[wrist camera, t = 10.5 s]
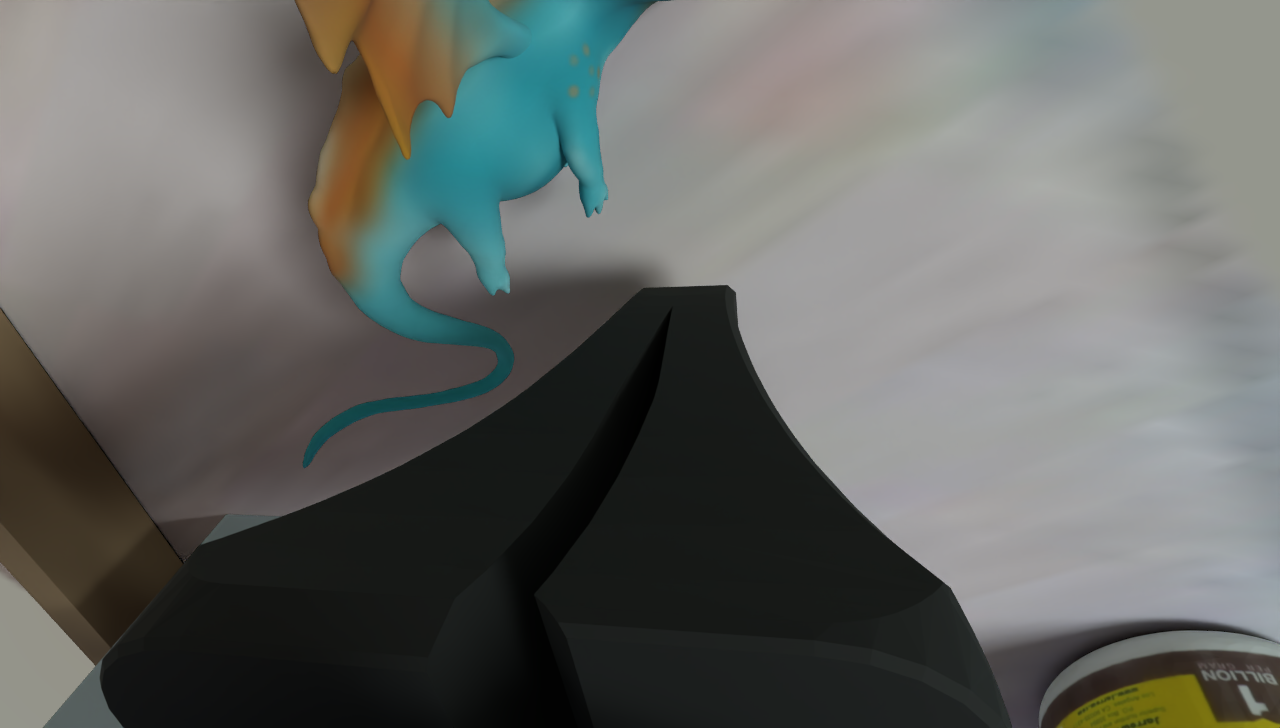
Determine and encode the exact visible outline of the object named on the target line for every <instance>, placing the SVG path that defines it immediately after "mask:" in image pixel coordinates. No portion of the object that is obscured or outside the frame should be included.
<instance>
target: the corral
mask: <svg viewBox="0 0 1280 728" xmlns="http://www.w3.org/2000/svg"><path fill="white" fill-rule="evenodd" d="M0 562H1V563H2V564H3V565H4V566H5V568H6V569H7V570H8V571H9V572H10V573H11V574H12V575H13V576H14V577H15V578H16V580H17V581H18V582H19V583H20V584H21V585H22V586H23V587H24V588H25V589H26V590H27V592H28V593H29V594H30V595H31V596H32V597H33V598H34V599H35V600H36V601H37V602H38V604H39V605H40V606H41V607H42V608H43V609H44V610H45V611H46V612H47V613H48V614H49V615H50V617H51V618H52V619H53V620H54V621H55V622H56V623H57V624H58V625H59V626H60V627H61V629H62V630H63V631H64V632H65V633H66V634H67V635H68V636H69V637H70V638H71V639H72V641H73V642H74V643H75V644H76V645H77V646H78V647H79V648H80V649H81V650H82V651H83V652H84V654H85V655H86V656H87V657H88V658H89V659H90V660H91V661H92V662H93V663H94V665H95V666H96V665H97V664H98V663H99V662H100V661H101V659H102V658H103V657H104V656H105V655H106V654H107V652H108V651H109V650H110V649H111V648H112V647H113V645H114V644H115V643H116V642H117V641H118V640H119V639H120V637H121V636H122V635H123V634H124V633H125V632H126V630H127V629H128V628H129V627H130V626H131V625H132V623H133V622H134V621H135V620H136V619H137V618H138V616H139V615H140V614H141V613H142V612H143V611H144V609H145V608H146V607H147V606H148V605H149V604H150V603H151V601H152V600H153V599H154V598H155V597H156V596H157V594H158V593H159V592H160V591H161V590H162V589H163V587H164V586H165V585H166V584H167V583H168V582H169V580H170V579H171V578H172V577H173V576H174V575H175V573H176V572H177V571H178V570H179V569H180V567H181V566H182V565H183V564H182V562H181V561H180V559H179V558H178V557H177V555H176V554H175V552H174V551H173V550H172V548H171V547H170V545H169V544H168V543H167V541H166V540H165V538H164V537H163V536H162V534H161V533H160V531H159V530H158V529H157V527H156V526H155V524H154V523H153V522H152V520H151V519H150V517H149V516H148V515H147V513H146V512H145V510H144V509H143V508H142V506H141V505H140V503H139V502H138V501H137V499H136V498H135V496H134V495H133V494H132V492H131V491H130V489H129V488H128V487H127V485H126V484H125V482H124V481H123V480H122V478H121V477H120V475H119V474H118V473H117V471H116V470H115V468H114V467H113V466H112V464H111V463H110V461H109V460H108V459H107V457H106V456H105V454H104V453H103V452H102V450H101V449H100V447H99V446H98V445H97V443H96V442H95V440H94V439H93V438H92V436H91V435H90V433H89V432H88V431H87V429H86V428H85V426H84V425H83V424H82V422H81V421H80V419H79V418H78V417H77V415H76V414H75V412H74V411H73V410H72V408H71V407H70V405H69V404H68V403H67V401H66V400H65V398H64V397H63V396H62V394H61V393H60V391H59V390H58V389H57V387H56V386H55V384H54V383H53V382H52V380H51V379H50V377H49V376H48V375H47V373H46V372H45V371H44V369H43V368H42V366H41V365H40V364H39V362H38V361H37V359H36V358H35V357H34V355H33V354H32V352H31V351H30V350H29V348H28V347H27V345H26V344H25V343H24V341H23V340H22V338H21V337H20V336H19V334H18V333H17V331H16V330H15V329H14V327H13V326H12V324H11V323H10V322H9V320H8V319H7V317H6V316H5V315H4V313H3V312H2V310H1V309H0Z"/></svg>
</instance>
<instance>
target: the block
mask: <svg viewBox="0 0 1280 728" xmlns="http://www.w3.org/2000/svg"><path fill="white" fill-rule="evenodd" d="M279 517H280V516H256V515H231V514H226V515H225V517H224V518H223V519H222V520H221V521H220V522H219V524H218V525H217V526H216V527H215V528H214V529H213V530H212V532H211V533H210V534H209V535H208V536H207V537H206V539H205V540H204V541H203V542H202V543H201V544H204V543H207V542H210V541H213V540H217V539H220V538H223V537H226V536H228V535H231V534H234V533H237V532H240V531H242V530H245V529H248V528H251V527H254V526H256V525H259V524H262V523H265V522H268V521H270V520H273V519H276V518H279ZM201 544H200V545H201ZM151 602H152V601H151ZM145 609H146V608H145ZM145 609H144V610H145ZM139 616H140V615H139ZM139 616H138V617H139ZM133 623H134V622H133ZM133 623H132V624H133ZM127 630H128V629H127ZM127 630H126V631H127ZM122 636H123V635H122ZM122 636H121V637H122ZM121 637H120V638H121ZM116 643H117V642H116ZM116 643H115V644H116ZM115 644H114V645H115ZM114 645H113V646H114ZM110 650H111V649H110ZM110 650H109V651H110ZM109 651H108V652H109ZM108 652H107V653H108ZM104 657H105V656H104ZM104 657H103V658H104ZM103 658H102V659H103ZM102 659H101V661H100V662H99V663H98V664H97V665H96V666H95V668H94V669H93V670H92V671H91V672H90V673H89V675H88V676H87V677H86V678H85V679H84V680H83V682H82V683H81V684H80V685H79V686H78V687H77V688H76V690H75V691H74V692H73V693H72V694H71V695H70V697H69V698H68V699H67V700H66V701H65V702H64V704H63V705H62V706H61V707H60V708H59V709H58V711H57V712H56V713H55V714H54V715H53V716H52V718H51V719H50V720H49V721H48V722H47V723H46V724H45V726H44V727H43V728H123V727H122V725H121V724H120V723H119V721H118V720H117V719H116V717H115V716H114V715H113V714H112V712H111V711H110V710H109V708H108V705H107V703H106V700H105V697H104V695H103V692H102V689H101V684H100V671H101V665H102Z"/></svg>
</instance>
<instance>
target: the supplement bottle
mask: <svg viewBox="0 0 1280 728" xmlns="http://www.w3.org/2000/svg"><path fill="white" fill-rule="evenodd" d="M1039 728H1280V644H1278V643H1275V642H1272V641H1269V640H1265V639H1261V638H1258V637H1253V636H1248V635H1243V634H1237V633H1229V632H1219V631H1193V630H1188V631H1169V632H1160V633H1154V634H1148V635H1143V636H1138V637H1133V638H1129V639H1126V640H1122V641H1119V642H1116V643H1113V644H1110V645H1107V646H1104V647H1102V648H1099V649H1097V650H1095V651H1093V652H1091V653H1089V654H1087V655H1085V656H1084V657H1082V658H1080V659H1079V660H1077V661H1075V662H1074V663H1072V664H1071V665H1070V666H1068V667H1067V668H1066V669H1065V670H1064V671H1062V672H1061V673H1060V674H1059V675H1058V676H1057V677H1056V679H1055V680H1054V681H1053V682H1052V683H1051V685H1050V686H1049V688H1048V689H1047V691H1046V693H1045V695H1044V697H1043V700H1042V702H1041V706H1040V711H1039Z"/></svg>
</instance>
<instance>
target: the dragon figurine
mask: <svg viewBox="0 0 1280 728" xmlns="http://www.w3.org/2000/svg"><path fill="white" fill-rule="evenodd" d="M657 1H669V0H295V2H296V5H297V7H298V9H299V11H300V13H301V15H302V18H303V20H304V22H305V25H306V27H307V30H308V33H309V35H310V38H311V41H312V44H313V46H314V48H315V51H316V53H317V54H318V56H319V58H320V59H321V61H322V62H323V64H324V65H325V67H326V68H327V69H328V70H329V71H330V72H331V73H333V74H334V73H335V74H337V73H338V71H339V69H340V67H341V65H342V62H343V59H344V56H345V53H346V50H347V48H348V45H349V43H350V42H351V41H353V42H354V43H355V45H356V47H357V49H358V51H359V53H360V54H359V56H358V57H357V58H356V60H355V61H354V62H353V63H352V64H351V65H349V66H348V67H347V68H346V69H345V72H344V75H343V79H342V93H341V98H340V102H339V105H338V109H337V112H336V114H335V117H334V119H333V122H332V125H331V127H330V130H329V133H328V136H327V139H326V141H325V144H324V146H323V148H322V150H321V152H320V157H319V162H318V168H317V174H316V185H315V187H314V189H313V191H312V193H311V195H310V197H309V200H308V210H309V213H310V215H311V218H312V220H313V221H314V223H315V224H316V226H317V228H318V236H319V242H320V246H321V248H322V251H323V253H324V255H325V257H326V259H327V263H328V266H329V269H330V271H331V273H332V275H333V276H334V277H335V278H336V279H337V280H338V281H339V282H340V284H341V285H342V286H343V288H344V289H345V290H346V292H347V293H348V294H349V296H350V297H351V299H352V300H353V301H354V303H355V304H356V306H357V307H358V308H359V309H360V310H361V311H362V312H363V313H364V314H365V315H367V316H368V317H369V318H370V319H372V320H373V321H375V322H376V323H378V324H379V325H381V326H383V327H385V328H386V329H388V330H390V331H392V332H394V333H396V334H398V335H401V336H403V337H406V338H409V339H413V340H417V341H421V342H427V343H439V344H453V345H465V346H477V347H484V348H488V349H491V350H493V351H494V352H495V353H496V355H497V358H498V364H497V366H496V368H495V369H494V370H493V371H492V372H491V373H490V374H489V375H488V376H487V377H485V378H484V379H482V380H479V381H477V382H474V383H471V384H468V385H465V386H461V387H457V388H453V389H449V390H446V391H442V392H437V393H431V394H424V395H415V396H407V397H395V398H388V399H383V400H377V401H373V402H366V403H363V404H359V405H357V406H354V407H352V408H350V409H348V410H346V411H344V412H342V413H341V414H339V415H337V416H335V417H334V418H332V419H331V420H330V421H329V422H327V423H326V424H325V425H323V426H322V427H321V428H320V429H319V430H318V431H317V432H316V433H315V435H314V436H313V438H312V439H311V441H310V443H309V445H308V447H307V449H306V452H305V455H304V460H303V468H306V467H307V466H308V465H309V464H310V463H311V462H312V460H313V458H314V456H315V454H316V453H317V451H318V450H319V449H320V448H321V446H322V445H323V444H324V443H325V442H326V441H327V440H328V439H329V438H330V437H331V436H333V435H334V434H336V433H337V432H339V431H340V430H342V429H343V428H345V427H347V426H349V425H350V424H352V423H354V422H356V421H358V420H360V419H363V418H365V417H368V416H371V415H374V414H378V413H383V412H390V411H399V410H406V409H416V408H422V407H427V406H433V405H440V404H445V403H452V402H457V401H461V400H465V399H469V398H473V397H476V396H479V395H482V394H485V393H487V392H489V391H490V390H492V389H494V388H496V387H497V386H499V385H500V384H501V383H502V382H503V381H504V380H505V379H506V378H507V377H508V375H509V374H510V372H511V370H512V367H513V363H514V353H513V351H512V348H511V347H510V345H509V343H508V342H507V341H506V339H505V338H504V337H503V336H501V335H500V334H499V333H497V332H495V331H494V330H492V329H490V328H487V327H484V326H481V325H478V324H475V323H471V322H466V321H463V320H460V319H457V318H453V317H450V316H447V315H444V314H440V313H437V312H434V311H431V310H429V309H427V308H425V307H423V306H421V305H419V304H418V303H416V302H415V301H413V300H412V299H411V298H410V297H409V295H408V293H407V292H406V290H405V288H404V286H403V284H402V282H401V280H400V275H401V267H402V263H403V260H404V258H405V256H406V255H407V253H408V252H409V250H410V249H411V247H412V246H413V245H414V243H415V242H416V241H417V240H418V239H419V238H420V237H421V236H422V235H424V234H425V233H426V232H427V231H428V230H430V229H431V228H433V227H435V226H437V225H439V224H442V225H444V226H445V227H446V228H447V229H448V230H449V231H450V232H451V234H452V235H453V236H454V237H455V238H456V240H457V241H458V242H459V243H460V244H461V246H462V247H463V248H464V249H465V250H466V251H467V252H468V253H469V254H470V256H471V258H472V260H473V262H474V264H475V266H476V271H477V275H478V278H479V279H480V281H481V283H482V284H483V285H484V287H485V288H486V289H487V291H488V292H489V293H490V294H491V295H495V293H496V291H497V290H498V289H499V290H503V291H504V292H505V293H507V294H508V293H510V276H509V273H508V271H507V269H506V267H505V255H506V251H505V241H504V238H503V235H502V228H501V218H500V211H499V202H500V201H507V200H512V199H516V198H520V197H523V196H526V195H528V194H531V193H533V192H535V191H537V190H538V189H540V188H542V187H543V186H545V185H546V184H547V183H548V182H550V181H551V180H552V179H553V178H554V177H555V176H556V175H557V174H558V173H559V172H560V171H561V170H562V169H563V167H567V166H568V165H569V167H570V169H571V171H572V172H573V174H574V175H575V176H576V177H577V178H578V180H579V193H580V199H581V202H582V204H583V206H584V209H585V213H586V216H587V217H590V216H591V215H592V213H593V210H594V209H595V210H596V212H597V213H598V214H600V213H601V210H602V207H603V201H604V200H607V199H608V189H607V186H606V184H605V182H604V178H603V166H602V160H601V153H600V144H599V129H598V125H597V118H596V105H597V100H598V94H599V87H600V80H601V74H602V70H603V66H604V63H605V61H606V59H607V57H608V56H609V55H610V53H611V52H612V51H613V50H614V49H615V48H616V46H617V45H618V44H619V43H620V41H621V40H622V39H623V37H624V36H625V35H626V33H627V32H628V30H629V29H630V28H631V26H632V25H633V24H634V23H635V22H636V21H637V19H638V18H639V17H640V15H641V14H642V13H643V12H644V11H645V10H646V9H647V8H648V7H649V6H651V5H652V4H653V3H655V2H657Z"/></svg>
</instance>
